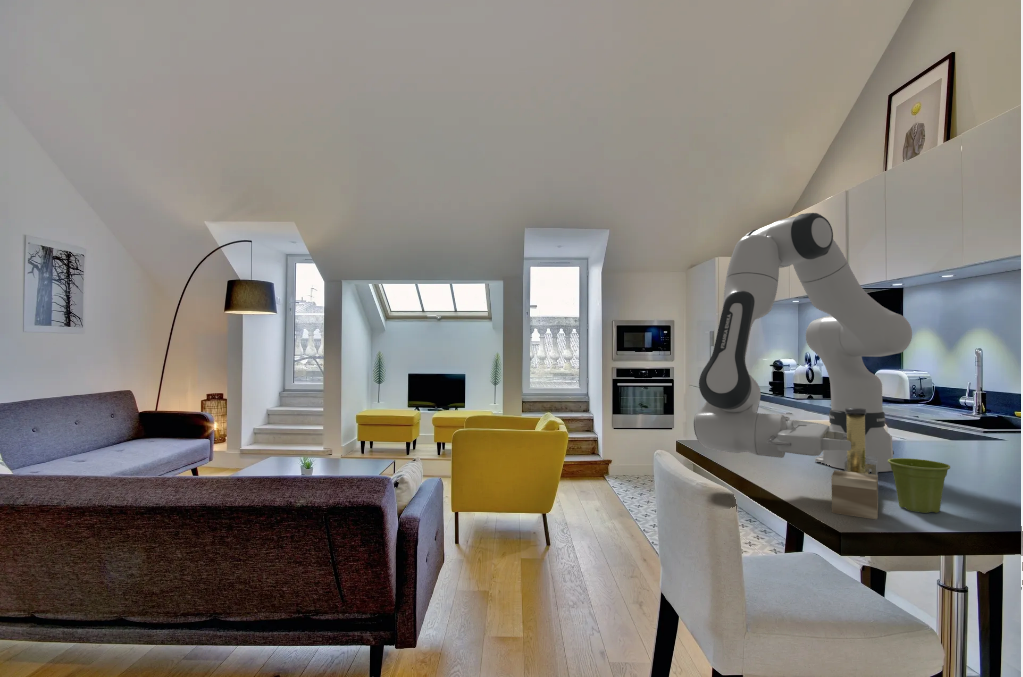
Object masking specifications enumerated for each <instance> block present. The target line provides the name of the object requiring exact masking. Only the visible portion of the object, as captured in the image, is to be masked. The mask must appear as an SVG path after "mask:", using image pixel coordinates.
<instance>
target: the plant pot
mask: <svg viewBox="0 0 1023 677" xmlns="http://www.w3.org/2000/svg"><path fill="white" fill-rule="evenodd" d="M888 463H890V465H891V469H892V471H891V472H892V473H893V474H892V475H893V478H894V482H895V489H896V496H897V501H898V505H899V507H900V508H904V509H906V510H907V511H911V512H916V513H922V514H929V513H931V512H932V513H935V514H936V513H937V514H938V513H939V512H940V510H941V504H942V500H943V499H942V498H943V491H944V485H945V479H946V477H947V475H948V470H950V469H951V465H949V464H947V463H943V462H939V461H935V460H934V461H933V460H928V459H922V458H921V459H920V458H909V457H905V458H904V457H896V458H894V457H893V459H888Z"/></svg>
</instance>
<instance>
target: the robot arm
mask: <svg viewBox="0 0 1023 677" xmlns="http://www.w3.org/2000/svg"><path fill="white" fill-rule="evenodd" d="M831 225H832V224H831V223H830V221H829V220H828V219H827V218H826V217H824V216H823V215H821V214H820V213H818V212H807V213H806V212H805V213H800V214H798V215H796V216H792V217H786V218H782V219H779V220H777V221H774V222H772V223H770V224H769V223H768V225H764V226H762V227H760V228H758V229H757V228H756V229H753V230H751V231H750V232H748V233H746V234H745V235H744V236H742V238H741V239H740V240H738V241H737V242H736V244H735V246H734V248H733V251H732V254H731V257H730V260H729V264H728V267H727V272H726V277H725V285H724V292H723V301H722V302H723V303H722V309H721V310H722V311H721V314H720V320H719V323H718V324H719V325H718V327H717V328H718V329H717V333H716V339H715V343H714V345H713V347H714V348H713V350H712V353H711V357H710V358H709V360H708V361H707V363H706V364H705V366H704V368H703V369H702V371H701V373H700V375H699V379H698V380H699V381H698V388H699V392H700V394H701V396H702V398H703V399H704V400H705V401H706V402H705V403H704V405H703V406H702V407H701V409H700V410H698V411H697V412H696V413H695V415H694V419H693V429H694V430H693V431H694V435H695V437H696V439H697V441H698V443H699V444H700V445H702V446H703V447H704V448H706V449H710V450H713V451H718V452H724V453H730V454H731V453H732V454H741V453H748V454H749V453H750V454H752V455H755V456H762V457H771V458H778V459H779V458H780V459H783V458H784V457H785V455H786V453H788V454H792V455H793V454H794V455H795V454H796V455H802V456H809V457H811V456H812V457H815V458H814V462H815V461H817V462H821V463H820V464H822V463H825V464H824V465H826V464H827V466H829V465H830V467H833V468H837V469H842V470H845V469H844V461H845V459H846V457H847V451H849V450H851V441H850V440H847V414H845V408H862V409H866V415H865V456H874V457H877V459H878V473H879V472H880V473H881V472H893V471H892V469H891V465H890V463H888V459H893V458H894V454H895V451H894V449H893V436H892V435H891V434H890V433H889V432H887V430H886V429H885V426H886V416H885V415H886V414H885V412H884V411H883V384H882V381H881V379H880V378H879V377H878V376H877V375H876V374H874V373H872V372H871V371H869V369H867V367H866V366H865V363H864V361H863V357H875V358H877V357H886V356H892V355H896V354H901V353H903V352H904V351H905V350H906V349H908V348H909V346H910V344H911V343H912V342H911V341H912V339H913V330H912V326H911V324H910V322H909V320H908V319H907V318H905V316H903V315H902V314H899V313H896V312H894V311H892V310H890V309H888V308H886V307H884V306H882V305H881V304H880V303H879V302H877V301H876V300H875V299H874V298H873V297H871V296H870V294H868V293H867V292H866V291H865V289H864V288H863V287H862V285H861V284H860V282H859V281H858V279H857V278H856V276H855V274H854V272H853V270H852V269H851V267H850V265H849V263H848V261H847V258H846V257H845V255H844V253H843V251H842V249H841V248H840V247H839V245H838V244H837V242H836V241H835V240H834V231H833V228H832V226H831ZM790 266H793V269H794V271H795V273H796V275H797V278H798V280H799V282H800V283H801V284H800V285H801V286H802V287H803V289H804V292H805V293H806V296H807V297H808V299H809V302H810V303H811V304H812V306H813V307H815V309H817V310H819V311H821V312H823V313H826V314H827V315H826V316H823V317H819V318H817V319H813V320H812V321H811V322H809V324H808V326H807V328H806V330H805V341H806V344H807V345H808V348H809V349H810V350H811V351H812V352H814V353H815V354H816V355H817V356H818V357H819V359H820V360H821V362H822V363H823V365H824V367H825V369H826V372H827V375H828V378H829V383H830V384H829V385H830V402H831V403H830V405H831V408H830V410H829V414H828V418H829V421H828V422H829V423H830V424H829V425H828V424H824V423H819V422H812V421H805V420H798V419H790V418H791V417H789V416H785V415H784V414H777V413H761V412H760V413H759V412H758V410H759V406H760V401H761V397H762V395H761V389H760V385H759V383H758V381H756V379H755V378H754V377H753V376H752V375H751V374H750V373H749V371H748V369H747V368H748V367H747V364H746V356H747V351H748V346H749V341H750V336H751V329H752V326H753V324H754V322H755V321H756V320H758V319H761V318H763V317H765V316H766V315H768V314H769V313H770V312H771V311H772V308H773V306H774V303H775V300H776V296H777V293H778V292H777V291H778V286H779V277H780V276H779V275H780V269H782V268H787V267H790ZM821 454H822V455H821ZM816 456H817V457H816ZM817 462H816V463H817ZM870 472H871V469H869V473H870Z"/></svg>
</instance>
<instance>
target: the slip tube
mask: <svg viewBox="0 0 1023 677" xmlns="http://www.w3.org/2000/svg"><path fill="white" fill-rule="evenodd" d="M845 414H847V440H850V441H851V450H849V451H847V472H856V473H865V474H870V472H869V469H866V456H865V415H866V409H862V408H845Z"/></svg>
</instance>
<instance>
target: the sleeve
mask: <svg viewBox="0 0 1023 677" xmlns="http://www.w3.org/2000/svg"><path fill="white" fill-rule="evenodd" d="M866 469H871V473H870V474H874V475H878V476H879V472H878V459H877V457H874V456H866ZM843 470H844V471H847V457H846V459H845V461H844V469H843Z"/></svg>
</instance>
